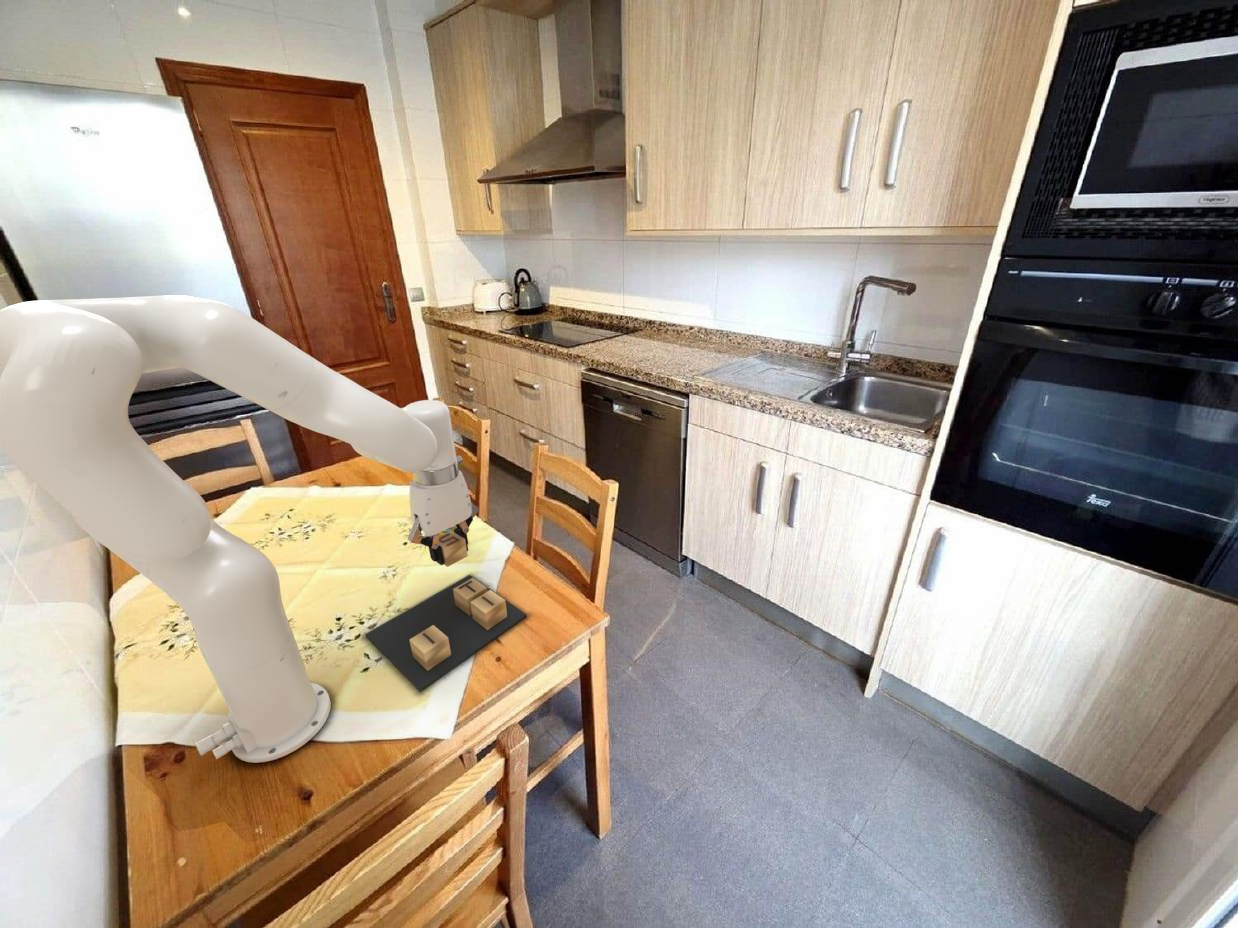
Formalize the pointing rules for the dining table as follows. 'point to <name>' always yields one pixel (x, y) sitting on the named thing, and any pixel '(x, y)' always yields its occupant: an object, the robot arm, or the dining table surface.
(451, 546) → the tile
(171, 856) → the dining table surface
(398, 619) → the word mat
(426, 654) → the tile
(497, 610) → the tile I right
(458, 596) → the tile
